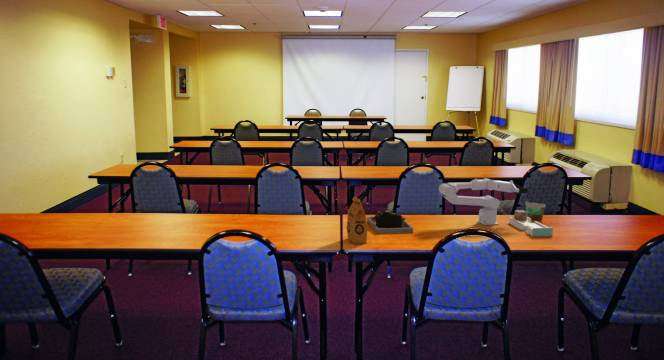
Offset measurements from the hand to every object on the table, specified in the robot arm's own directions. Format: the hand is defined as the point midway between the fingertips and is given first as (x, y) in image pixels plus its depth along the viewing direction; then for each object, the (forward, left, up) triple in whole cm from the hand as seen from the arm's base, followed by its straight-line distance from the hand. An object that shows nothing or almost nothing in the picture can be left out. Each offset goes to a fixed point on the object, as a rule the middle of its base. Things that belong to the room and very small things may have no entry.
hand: (523, 189), depth 297 cm
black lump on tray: (-80, -1, -20) cm, 83 cm away
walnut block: (-3, -4, -17) cm, 18 cm away
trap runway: (-3, -15, -20) cm, 25 cm away
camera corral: (-80, -1, -20) cm, 82 cm away
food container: (+10, +5, -20) cm, 23 cm away
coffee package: (-103, -25, -20) cm, 108 cm away
